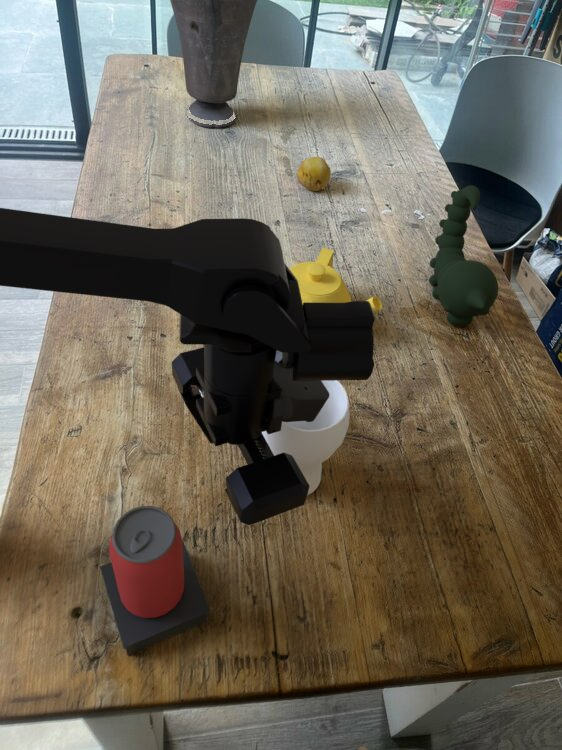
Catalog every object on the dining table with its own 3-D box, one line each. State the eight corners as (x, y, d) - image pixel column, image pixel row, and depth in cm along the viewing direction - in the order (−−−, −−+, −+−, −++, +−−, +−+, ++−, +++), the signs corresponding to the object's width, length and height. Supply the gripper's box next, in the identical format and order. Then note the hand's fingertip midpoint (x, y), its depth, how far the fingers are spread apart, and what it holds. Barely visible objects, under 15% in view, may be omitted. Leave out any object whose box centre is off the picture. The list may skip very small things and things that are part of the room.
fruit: (339, 175, 119) (331, 151, 126) (308, 166, 117) (302, 142, 124) (326, 203, 124) (319, 179, 131) (296, 195, 122) (290, 171, 128)
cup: (291, 427, 81) (305, 350, 70) (348, 476, 76) (373, 402, 65) (233, 469, 75) (239, 392, 64) (292, 525, 70) (308, 453, 60)
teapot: (360, 382, 88) (376, 329, 80) (246, 349, 90) (250, 294, 82) (382, 304, 101) (398, 251, 93) (283, 277, 104) (289, 223, 96)
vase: (228, 145, 136) (233, -3, 114) (149, 120, 141) (140, -27, 119) (269, 113, 150) (280, -24, 128) (196, 91, 155) (195, -44, 133)
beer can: (106, 603, 59) (90, 549, 50) (142, 549, 63) (132, 489, 54) (164, 631, 58) (157, 580, 49) (195, 573, 62) (194, 517, 53)
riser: (126, 658, 58) (123, 648, 56) (103, 579, 64) (99, 566, 61) (210, 622, 62) (210, 610, 59) (181, 549, 67) (181, 535, 65)
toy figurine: (412, 266, 113) (437, 347, 94) (440, 171, 100) (475, 242, 82) (460, 270, 113) (494, 352, 95) (493, 176, 101) (540, 249, 82)
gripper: (380, 426, 45) (344, 525, 57) (278, 283, 56) (265, 390, 68) (249, 471, 41) (238, 567, 53) (167, 308, 52) (172, 416, 64)
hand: (231, 475), depth 59 cm, fingers open, 9 cm apart
